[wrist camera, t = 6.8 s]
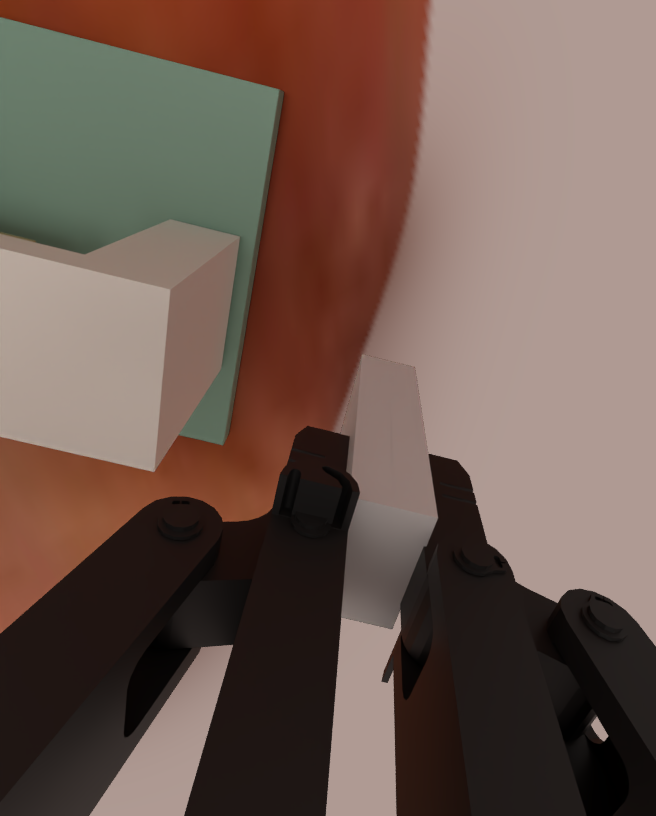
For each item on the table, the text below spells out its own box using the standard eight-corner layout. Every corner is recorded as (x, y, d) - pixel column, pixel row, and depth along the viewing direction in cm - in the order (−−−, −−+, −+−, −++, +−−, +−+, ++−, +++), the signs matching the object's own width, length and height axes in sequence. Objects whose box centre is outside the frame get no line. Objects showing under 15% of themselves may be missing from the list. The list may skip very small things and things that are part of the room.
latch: (96, 339, 20) (-28, 430, 14) (99, 201, 18) (-47, 237, 12) (220, 368, 20) (154, 472, 14) (240, 236, 18) (170, 289, 12)
